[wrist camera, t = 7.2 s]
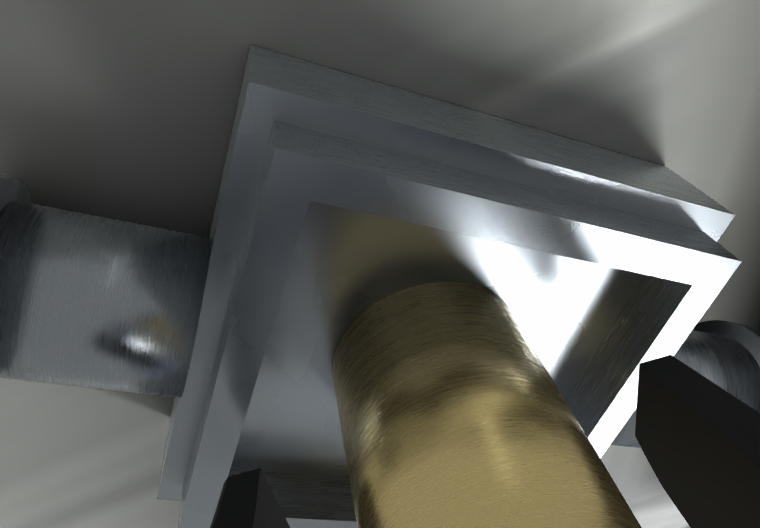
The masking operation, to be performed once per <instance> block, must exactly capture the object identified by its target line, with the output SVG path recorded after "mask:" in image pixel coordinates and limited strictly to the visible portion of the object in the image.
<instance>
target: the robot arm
mask: <svg viewBox="0 0 760 528" xmlns="http://www.w3.org/2000/svg"><path fill="white" fill-rule="evenodd" d="M635 437H636V439H637V441H638V443H639V444H640V446H641V448H642V450H643V452H644V454H645V456H646V458H647V460H648V462H649V463H650V465H651V467H652V469H653V471H654V472H655V474H656V476H657V478H658V479H659V481H660V483H661V485H662V487H663V488H664V489H665V491H666V492H667V494H668V495H669V497H670V498H671V500H672V501H673V503H674V504H675V505H676V507H677V508H678V510H679V511H680V513H681V514H682V516H683V517H684V518H685V520H686V521H687V523H688V524H689V526H690V527H691V528H760V412H758V411H756V410H755V409H753V408H752V407H750V406H749V405H747V404H745V403H744V402H742V401H741V400H739V399H738V398H736V397H735V396H733V395H732V394H730V393H728V392H727V391H725V390H724V389H722V388H721V387H719V386H718V385H716V384H715V383H713V382H712V381H710V380H709V379H707V378H706V377H704V376H703V375H701V374H700V373H698V372H697V371H695V370H694V369H692V368H690V367H689V366H687V365H686V364H684V363H683V362H681V361H680V360H678V359H677V358H675V357H673V356H672V355H668V356H664V357H661V358H657V359H654V360H650V361H646V362H643V363H639V377H638V393H637V410H636V426H635ZM210 528H290V526H289V524H288V522H287V520H286V518H285V516H284V514H283V512H282V510H281V508H280V506H279V504H278V502H277V500H276V498H275V496H274V494H273V492H272V490H271V488H270V485H269V483H268V481H267V479H266V477H265V475H264V473H263V471H262V469H261V468H258V469H254V470H251V471H247V472H243V473H240V474H236V475H233V476H229V477H228V478H227V479H226V480H225V482H224V484H223V488H222V491H221V495H220V498H219V501H218V504H217V508H216V511H215V514H214V517H213V520H212V523H211V526H210Z"/></svg>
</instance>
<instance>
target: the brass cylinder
mask: <svg viewBox="0 0 760 528" xmlns="http://www.w3.org/2000/svg"><path fill="white" fill-rule="evenodd" d="M332 377H333V383H334V389H335V395H336V401H337V407H338V413H339V419H340V425H341V432H342V438H343V444H344V450H345V456H346V462H347V468H348V474H349V480H350V486H351V492H352V498H353V504H354V510H355V516H356V522H357V528H641V526H640V524H639V523H638V521H637V519H636V518H635V516H634V514H633V513H632V511H631V509H630V508H629V506H628V504H627V503H626V501H625V499H624V498H623V496H622V494H621V493H620V491H619V489H618V488H617V486H616V484H615V483H614V481H613V479H612V478H611V476H610V474H609V473H608V471H607V469H606V468H605V466H604V464H603V463H602V461H601V459H600V458H599V456H598V454H597V453H596V451H595V449H594V448H593V446H592V444H591V443H590V441H589V439H588V438H587V436H586V434H585V433H584V431H583V429H582V428H581V426H580V424H579V423H578V421H577V419H576V417H575V416H574V414H573V412H572V411H571V409H570V407H569V406H568V404H567V402H566V401H565V399H564V397H563V396H562V394H561V392H560V391H559V389H558V387H557V386H556V384H555V382H554V381H553V379H552V377H551V376H550V374H549V372H548V371H547V369H546V367H545V366H544V364H543V362H542V361H541V359H540V357H539V356H538V354H537V352H536V351H535V349H534V347H533V346H532V344H531V342H530V341H529V339H528V337H527V336H526V334H525V332H524V331H523V329H522V327H521V326H520V324H519V322H518V321H517V319H516V317H515V316H514V314H513V312H512V311H511V310H510V308H509V307H508V306H507V305H506V304H505V303H504V302H503V301H502V300H501V299H500V298H499V297H497V296H496V295H494V294H492V293H491V292H489V291H487V290H485V289H482V288H480V287H477V286H473V285H470V284H465V283H459V282H431V283H425V284H420V285H415V286H412V287H408V288H405V289H402V290H400V291H397V292H395V293H392V294H390V295H388V296H386V297H384V298H383V299H381V300H379V301H377V302H376V303H374V304H373V305H372V306H370V307H369V308H367V309H366V310H365V311H364V312H363V313H361V314H360V315H359V316H358V317H357V318H356V319H355V320H354V321H353V322H352V324H351V325H350V326H349V327H348V329H347V330H346V331H345V333H344V334H343V336H342V338H341V340H340V342H339V343H338V345H337V348H336V351H335V354H334V358H333V364H332Z"/></svg>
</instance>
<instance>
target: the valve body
mask: <svg viewBox="0 0 760 528" xmlns="http://www.w3.org/2000/svg"><path fill="white" fill-rule="evenodd" d="M734 216H735V215H734V214H733V213H731V212H730V211H728V210H727V209H726V208H724V207H723V206H721V205H720V204H718V203H717V202H716V201H714V200H713V199H711V198H710V197H709V196H707V195H706V194H704V193H703V192H701V191H700V190H699V189H697V188H696V187H694V186H693V185H691V184H690V183H689V182H687V181H686V180H684V179H683V178H682V177H680V176H679V175H677V174H676V173H674V172H673V171H672V170H670V169H669V168H667V167H665V166H662V165H658V164H655V163H652V162H648V161H645V160H641V159H638V158H635V157H631V156H628V155H624V154H621V153H617V152H614V151H611V150H607V149H604V148H600V147H597V146H594V145H590V144H587V143H583V142H580V141H577V140H573V139H570V138H566V137H563V136H560V135H556V134H553V133H549V132H546V131H543V130H539V129H536V128H532V127H529V126H526V125H522V124H519V123H515V122H512V121H509V120H505V119H502V118H498V117H495V116H492V115H488V114H485V113H481V112H478V111H475V110H471V109H468V108H464V107H461V106H458V105H454V104H451V103H447V102H444V101H441V100H437V99H434V98H430V97H427V96H424V95H420V94H417V93H413V92H410V91H406V90H403V89H400V88H396V87H393V86H389V85H386V84H383V83H379V82H376V81H372V80H369V79H366V78H362V77H359V76H355V75H352V74H349V73H345V72H342V71H338V70H335V69H332V68H328V67H325V66H321V65H318V64H315V63H311V62H308V61H304V60H301V59H298V58H294V57H291V56H287V55H284V54H281V53H277V52H274V51H270V50H267V49H264V48H260V47H257V46H253V45H250V49H249V54H248V58H247V63H246V68H245V72H244V77H243V81H242V86H241V91H240V95H239V100H238V105H237V109H236V114H235V119H234V123H233V128H232V133H231V137H230V142H229V147H228V151H227V156H226V160H225V165H224V170H223V174H222V179H221V184H220V188H219V193H218V198H217V202H216V207H215V212H214V216H213V221H212V226H211V230H210V235H209V237H204V236H198V235H193V234H188V233H183V232H177V231H172V230H167V229H162V228H156V227H151V226H146V225H141V224H136V223H130V222H125V221H120V220H115V219H109V218H104V217H99V216H94V215H88V214H83V213H78V212H73V211H67V210H62V209H57V208H52V207H47V206H41V205H36V204H32V201H31V196H30V192H29V189H28V187H27V185H26V184H25V182H24V181H22V180H21V179H17V178H12V177H7V176H2V175H0V378H5V379H14V380H23V381H32V382H41V383H51V384H60V385H69V386H78V387H87V388H96V389H106V390H115V391H124V392H133V393H142V394H151V395H161V396H170V397H175V398H174V402H173V407H172V411H171V416H170V422H169V428H168V434H167V440H166V447H165V453H164V459H163V465H162V472H161V478H160V484H159V491H158V497H157V499H166V500H181V507H180V515H179V523H178V528H210V526H211V523H212V520H213V517H214V514H215V511H216V508H217V504H218V501H219V498H220V495H221V491H222V488H223V484H224V482H225V480H226V479H227V478H228V477H229V476H233V475H236V474H240V473H243V472H247V471H251V470H254V469H258V468H261V469H262V471H263V473H264V475H265V477H266V479H267V481H268V483H269V485H270V488H271V490H272V492H273V494H274V496H275V498H276V500H277V502H278V504H279V506H280V508H281V510H282V512H283V514H284V516H285V518H286V520H287V522H288V524H289V526H290V528H357V522H356V516H355V510H354V504H353V498H352V492H351V486H350V480H349V474H348V468H347V462H346V456H345V450H344V444H343V438H342V432H341V425H340V419H339V413H338V407H337V401H336V395H335V389H334V383H333V377H332V364H333V358H334V354H335V351H336V348H337V345H338V343H339V342H340V340H341V338H342V336H343V334H344V333H345V331H346V330H347V329H348V327H349V326H350V325H351V324H352V322H353V321H354V320H355V319H356V318H357V317H358V316H359V315H360V314H361V313H363V312H364V311H365V310H366V309H367V308H369V307H370V306H372V305H373V304H374V303H376V302H377V301H379V300H381V299H383V298H384V297H386V296H388V295H390V294H392V293H395V292H397V291H400V290H402V289H405V288H408V287H412V286H415V285H420V284H425V283H431V282H459V283H465V284H470V285H473V286H477V287H480V288H482V289H485V290H487V291H489V292H491V293H492V294H494V295H496V296H497V297H499V298H500V299H501V300H502V301H503V302H504V303H505V304H506V305H507V306H508V307H509V308H510V310H511V311H512V312H513V314H514V316H515V317H516V319H517V321H518V322H519V324H520V326H521V327H522V329H523V331H524V332H525V334H526V336H527V337H528V339H529V341H530V342H531V344H532V346H533V347H534V349H535V351H536V352H537V354H538V356H539V357H540V359H541V361H542V362H543V364H544V366H545V367H546V369H547V371H548V372H549V374H550V376H551V377H552V379H553V381H554V382H555V384H556V386H557V387H558V389H559V391H560V392H561V394H562V396H563V397H564V399H565V401H566V402H567V404H568V406H569V407H570V409H571V411H572V412H573V414H574V416H575V417H576V419H577V421H578V423H579V424H580V426H581V428H582V429H583V431H584V433H585V434H586V436H587V438H588V439H589V441H590V443H591V444H592V446H593V448H594V449H595V451H596V453H597V454H598V456H599V458H601V457H602V456H603V454H604V453H605V451H606V450H607V449H608V447H609V446H610V445H619V446H628V447H637V448H641V446H640V444H639V443H638V441H637V439H636V437H635V426H636V410H637V393H638V377H639V363H643V362H646V361H650V360H654V359H657V358H661V357H664V356H668V355H672V356H673V357H675V358H677V359H678V360H680V361H681V362H683V363H684V364H686V365H687V366H689V367H690V368H692V369H694V370H695V371H697V372H698V373H700V374H701V375H703V376H704V377H706V378H707V379H709V380H710V381H712V382H713V383H715V384H716V385H718V386H719V387H721V388H722V389H724V390H725V391H727V392H728V393H730V394H732V395H733V396H735V397H736V398H738V399H739V400H741V401H742V402H744V403H745V404H747V405H749V406H750V407H752V408H753V409H755V410H756V411H758V412H760V331H759V330H758V329H755V328H753V327H750V326H746V325H742V324H737V323H732V322H727V321H719V320H713V321H705V322H701V323H698V322H699V320H700V319H701V317H702V316H703V315H704V313H705V312H706V310H707V309H708V308H709V306H710V305H711V303H712V302H713V301H714V299H715V298H716V296H717V295H718V294H719V292H720V291H721V289H722V288H723V287H724V285H725V284H726V282H727V281H728V280H729V278H730V277H731V275H732V274H733V273H734V271H735V270H736V268H737V267H738V266H739V264H740V263H741V261H740V260H739V259H737V258H736V257H735V256H734V255H732V254H731V253H730V252H729V251H727V250H726V249H725V248H724V247H722V246H721V245H720V244H718V243H717V241H718V239H719V238H720V237H721V235H722V234H723V232H724V231H725V229H726V228H727V226H728V225H729V223H730V222H731V220H732V219H733V217H734ZM697 323H698V324H697Z"/></svg>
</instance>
